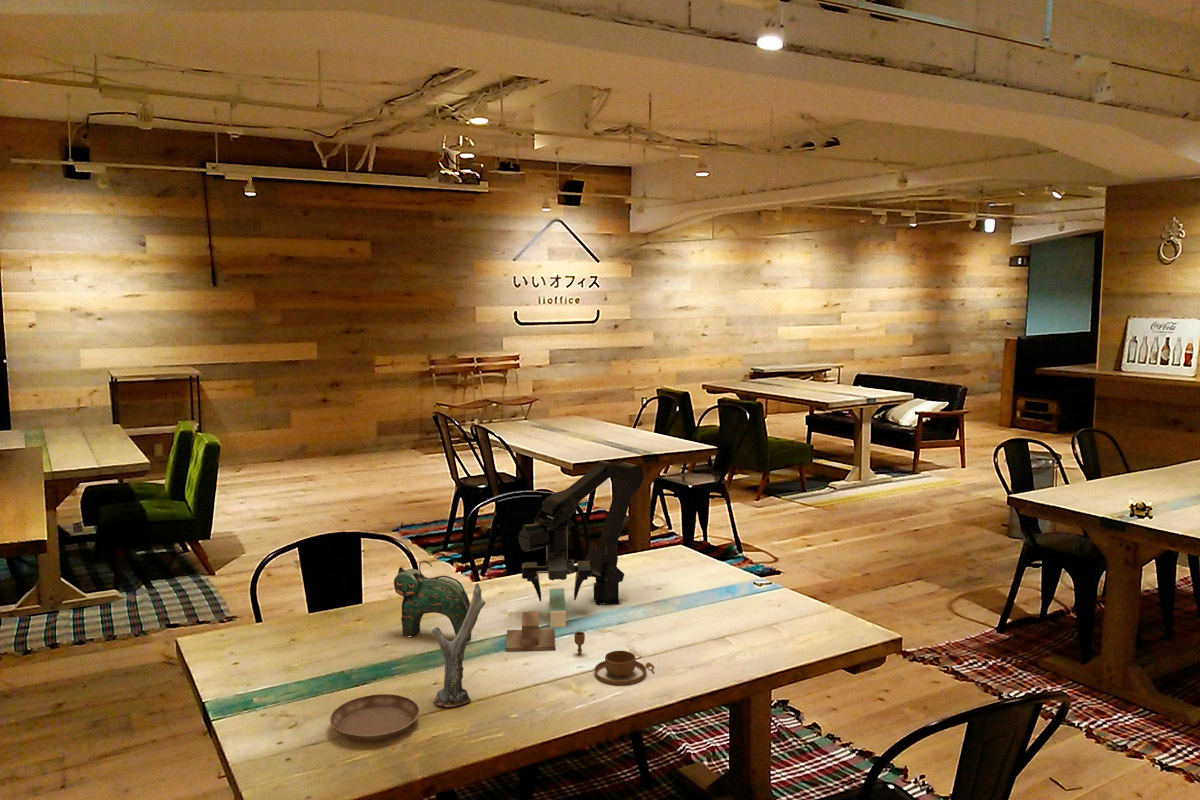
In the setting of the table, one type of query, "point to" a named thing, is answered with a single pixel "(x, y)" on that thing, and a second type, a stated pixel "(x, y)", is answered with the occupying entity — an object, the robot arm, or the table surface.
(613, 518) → the robot arm
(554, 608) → the bar
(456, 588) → the ceramic cat
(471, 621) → the bare tree trunk
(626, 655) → the place setting
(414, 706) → the plant saucer
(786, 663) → the table surface
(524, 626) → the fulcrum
